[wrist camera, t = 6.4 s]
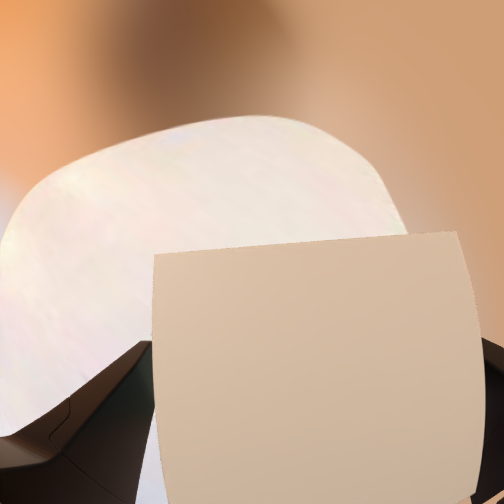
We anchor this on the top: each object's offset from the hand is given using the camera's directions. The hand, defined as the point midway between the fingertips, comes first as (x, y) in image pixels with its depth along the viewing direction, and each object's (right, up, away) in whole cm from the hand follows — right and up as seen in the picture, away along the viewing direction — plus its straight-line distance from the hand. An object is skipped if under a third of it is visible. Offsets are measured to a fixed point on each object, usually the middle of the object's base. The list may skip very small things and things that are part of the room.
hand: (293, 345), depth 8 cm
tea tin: (0, -4, +7) cm, 8 cm away
